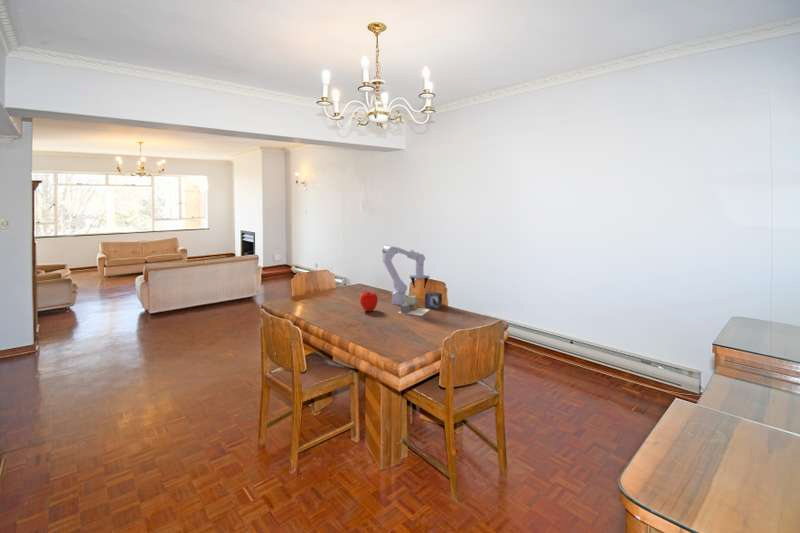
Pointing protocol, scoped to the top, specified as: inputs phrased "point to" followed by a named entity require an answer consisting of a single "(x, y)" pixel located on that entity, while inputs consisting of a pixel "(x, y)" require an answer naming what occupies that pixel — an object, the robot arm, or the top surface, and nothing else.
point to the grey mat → (417, 311)
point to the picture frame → (433, 300)
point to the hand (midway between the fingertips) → (419, 287)
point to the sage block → (411, 300)
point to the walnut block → (413, 307)
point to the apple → (368, 301)
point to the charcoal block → (405, 308)
